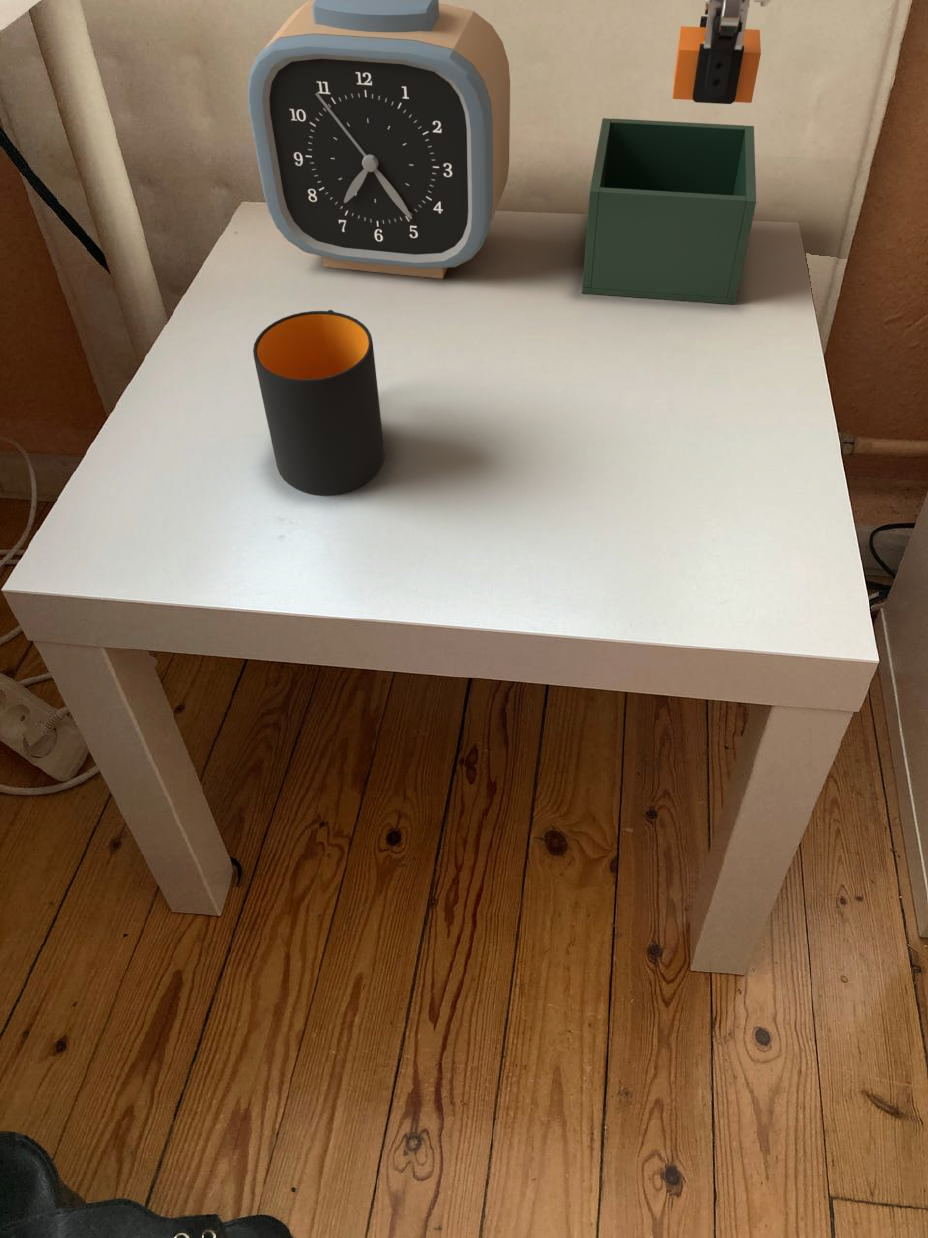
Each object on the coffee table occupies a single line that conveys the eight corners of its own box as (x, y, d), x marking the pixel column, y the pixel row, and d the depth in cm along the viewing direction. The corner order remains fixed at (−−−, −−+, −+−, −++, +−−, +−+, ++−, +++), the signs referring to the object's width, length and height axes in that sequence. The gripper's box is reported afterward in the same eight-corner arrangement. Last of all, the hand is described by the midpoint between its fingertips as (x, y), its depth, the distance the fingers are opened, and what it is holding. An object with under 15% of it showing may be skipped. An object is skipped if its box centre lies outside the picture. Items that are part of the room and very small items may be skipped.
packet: (674, 74, 82) (680, 25, 79) (750, 78, 81) (759, 29, 78) (672, 98, 79) (679, 49, 76) (751, 102, 78) (761, 52, 76)
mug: (395, 395, 83) (385, 282, 76) (377, 497, 76) (364, 382, 68) (295, 393, 84) (274, 280, 76) (267, 493, 76) (241, 379, 68)
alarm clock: (274, 267, 96) (229, 16, 80) (305, 216, 102) (269, -28, 86) (488, 289, 93) (488, 33, 77) (508, 235, 99) (511, -14, 82)
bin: (734, 225, 99) (754, 125, 92) (735, 304, 91) (756, 201, 83) (594, 216, 101) (602, 117, 94) (581, 293, 92) (589, 190, 85)
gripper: (828, -171, 60) (764, 139, 74) (813, -238, 71) (759, 45, 85) (699, -173, 61) (660, 134, 75) (703, -239, 72) (668, 40, 86)
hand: (713, 84), depth 80 cm, fingers closed on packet, 4 cm apart
